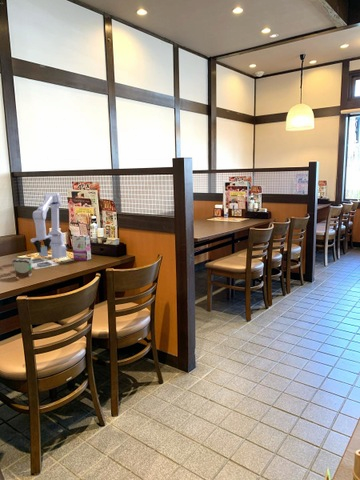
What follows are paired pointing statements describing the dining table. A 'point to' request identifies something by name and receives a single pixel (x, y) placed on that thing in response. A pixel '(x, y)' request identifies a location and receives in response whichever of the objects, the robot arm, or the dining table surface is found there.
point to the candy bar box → (81, 247)
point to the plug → (43, 251)
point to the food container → (23, 266)
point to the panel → (42, 263)
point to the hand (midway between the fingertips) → (43, 251)
